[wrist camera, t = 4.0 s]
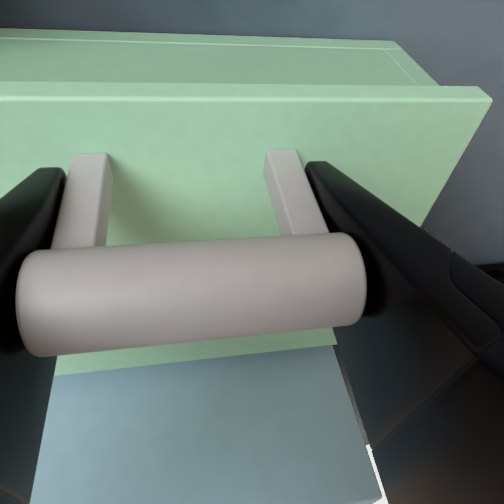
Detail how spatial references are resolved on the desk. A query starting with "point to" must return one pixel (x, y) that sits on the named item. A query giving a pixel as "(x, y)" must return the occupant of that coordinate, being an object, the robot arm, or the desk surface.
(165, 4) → the desk surface
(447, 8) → the desk surface
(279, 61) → the mint green lidded box
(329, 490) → the tank
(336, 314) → the brew lid
